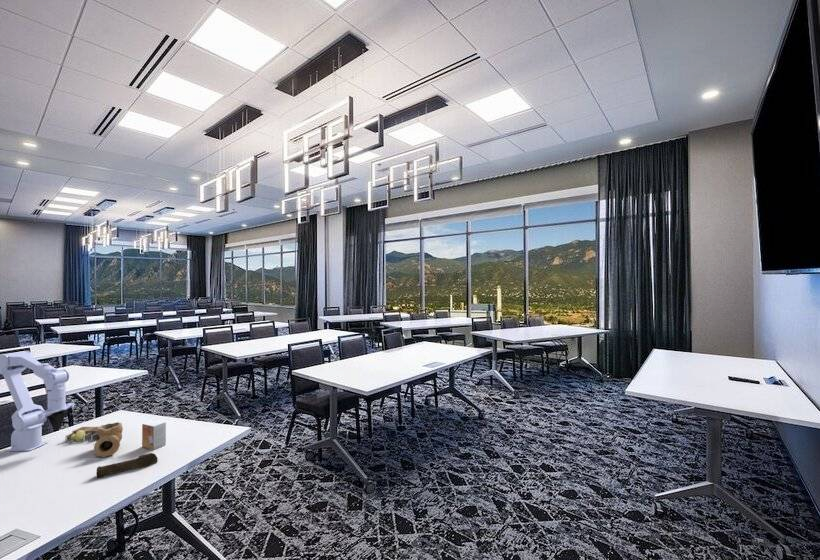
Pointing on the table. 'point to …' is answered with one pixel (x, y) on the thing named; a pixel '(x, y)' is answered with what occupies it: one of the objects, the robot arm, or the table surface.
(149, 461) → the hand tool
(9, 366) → the robot arm
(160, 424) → the small box
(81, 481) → the table surface
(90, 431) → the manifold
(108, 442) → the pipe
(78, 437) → the knob
